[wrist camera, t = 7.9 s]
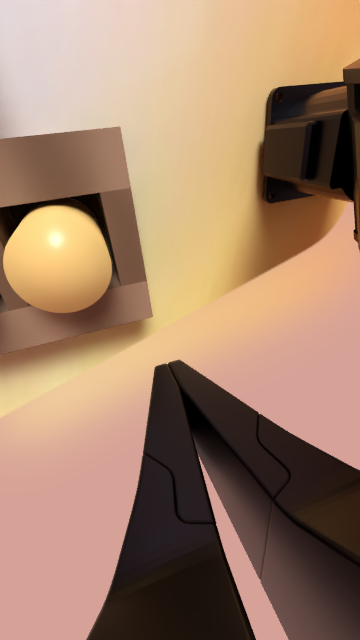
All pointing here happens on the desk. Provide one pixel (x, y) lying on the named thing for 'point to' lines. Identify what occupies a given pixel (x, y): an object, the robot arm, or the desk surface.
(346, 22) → the desk surface
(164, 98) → the desk surface
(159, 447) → the robot arm
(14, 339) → the wooden three-slot tray
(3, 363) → the desk surface
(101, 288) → the yellow rounded cylinder
